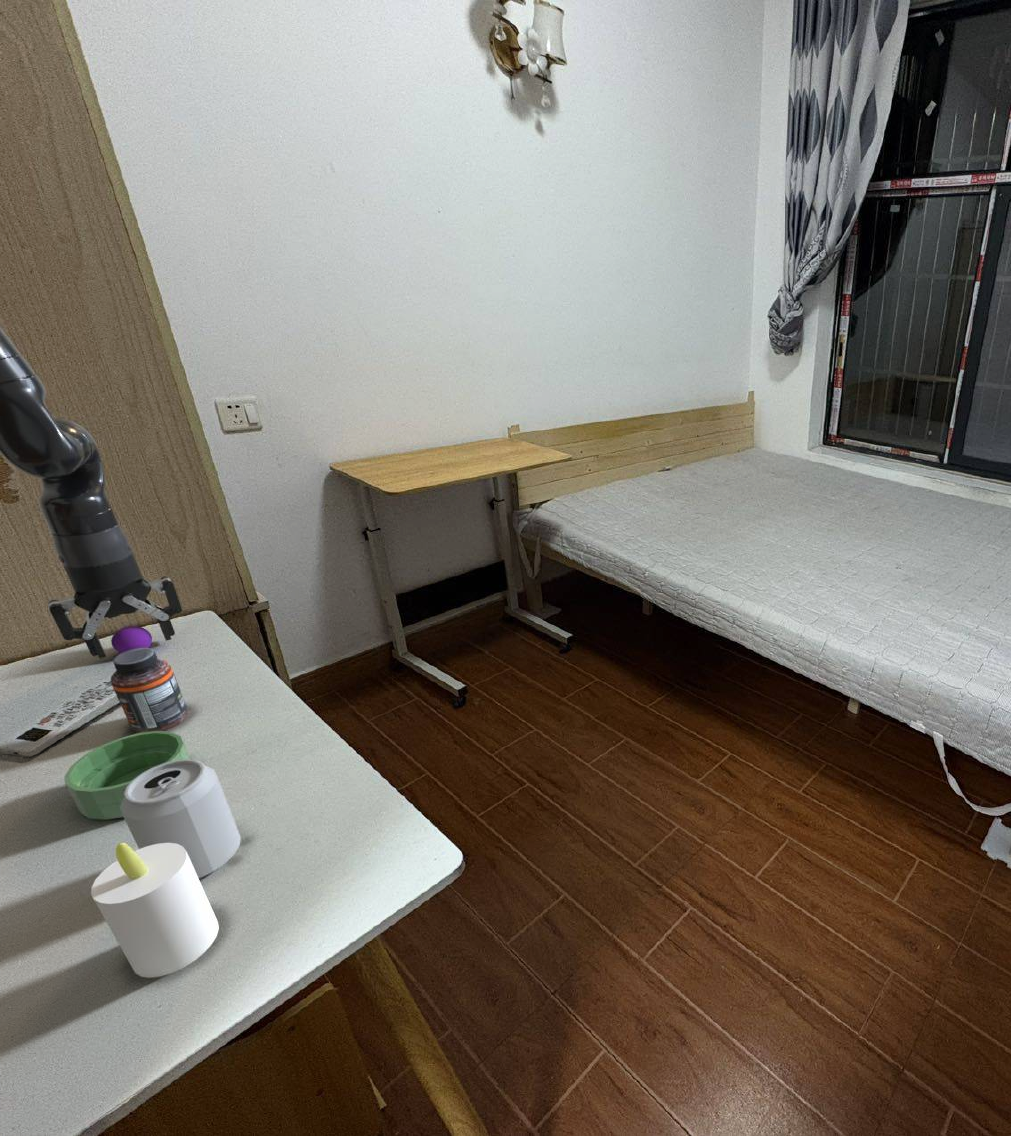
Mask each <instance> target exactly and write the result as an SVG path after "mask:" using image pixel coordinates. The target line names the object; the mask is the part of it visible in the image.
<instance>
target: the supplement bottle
mask: <svg viewBox="0 0 1011 1136" xmlns="http://www.w3.org/2000/svg"><path fill="white" fill-rule="evenodd" d="M112 660H113V661H112V662H113V665H114V668H115V670H116V671H114V672H113V673H112V674H111V677H110V684H111V686H112V688H113V691H114V693H115V696H116V698H117V700H118V701H119V704H120V706H121V709H122V710H123V714H124V715H125V717H126V719H127V722H128V724H129V726H130V727H131V729H132V731H133V732H134V733H135V734H137V733H142V732H151V731H169V730H171V729H173V728H175V727H177V726H178V725H181V724H182V723H183V722H184V721H185V720H186V718H187V717H188V715H189V710H188V706H187V703H186V701H185V698H184V696H183V692H182V691H181V687H180V685H179V684H178V680H177V678H176V676H175V673H174V671H173V668H172V666H171V664H170V663H169V662H168V661H166V660H164V659H160V658H158V655H156V651H155V650H154V649H153V648H150V647H148V648H137V649H133V650H129V651H126V652H124V653H119V654H118V655H117V656H115V657H114V658H113V659H112Z"/></svg>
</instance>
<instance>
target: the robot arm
mask: <svg viewBox="0 0 1011 1136" xmlns="http://www.w3.org/2000/svg"><path fill="white" fill-rule="evenodd" d="M46 396H47V389H46V387H45V385H44V384H43V382H42V381H41V379H40V378H39V376H38V375H37V374H36V372H35V371H34V369H33V368H32V367H31V366H30V364H29V363H28V362H27V360H26V359H25V357H24V356H23V355H22V353H21V352H20V350H18V348H17V347H16V345H15V344H14V343H13V342H12V340H11V339H10V337H8V335H7V334H6V332H5V331H4V329H2V327H1V326H0V454H1V455H2V456H3V457H4V459H5V460H6V461H7V462H9V464H11V465H12V466H13V467H14V468H15V469H17V470H18V471H20V472H22V473H24V474H26V475H28V476H31V477H34V478H37V479H41V483H42V491H41V493H40V495H39V498H38V503H39V504H38V505H39V508H40V511H41V513H42V516H43V518H44V521H45V523H46V525H47V527H48V529H49V531H50V534H51V537H52V541H53V545H54V549H55V551H56V553H57V555H58V560H59V562H60V563H61V564H62V566H63V569H64V571H65V573H66V576H67V578H68V580H69V581H70V584H71V587H72V589H73V591H74V596H73V597H72V598H68V599H62V600H58V599H52V600H49V601H48V609H49V612H50V614H51V616H52V618H53V620H54V622H55V624H56V626H57V628H58V630H59V632H60V633H61V636H62V637H63V639H64V640H65V641H72V640H79V639H80V640H83V641H84V642H85V644H86V647H87V649H88V651H89V654H90V655H91V656H93V657H96V656H98V658H99V659H103V658H106V657H107V655H106V653H105V649H104V648H103V645H102V643H101V640H100V639H99V636H98V634H97V630H98V629H99V627H100V626H101V624H102V622H103V621H104V618H107V619H112V618H117V617H119V616H121V615H130V614H135V613H136V612H137V611H141V612H143V613H144V614H147V615H149V616H152V617H153V618H155V619H156V620H157V621H158V622H157V623H158V625H159V628H160V630H161V632H162V635H163V637H164V639H165V641H166V642H167V641H171V640H172V637H173V636H175V634H176V632H175V629H174V626H173V624H172V621H171V618H172V617H173V616H174V615H179V614H181V613H182V611H183V608H182V605H181V602H180V600H179V597H178V594H177V591H176V587H175V585H174V583H173V580H172V579H171V577H169V576H167V575H164V576H162V577H160V579H158V580H153V581H147V580H146V579H145V578H144V577H143V574H142V572H141V570H140V567H139V564H138V562H137V560H136V557H135V555H134V552H133V549H132V547H133V546H132V545H131V544H130V542H129V539H128V537H127V535H126V533H125V531H124V530H123V528H122V526H121V524H120V523H119V520H118V517H117V515H116V512H115V510H114V507H113V505H112V502H111V500H110V498H109V497H108V494H107V489H106V479H105V478H106V477H105V473H104V466H103V461H102V457H101V454H100V450H99V447H98V445H97V443H96V441H95V439H94V437H93V436H92V435H91V433H89V431H87V429H85V428H84V427H83V426H81V425H80V424H78V423H77V422H74V421H71V420H69V419H65V418H60V417H54V416H53V415H52V414H51V412H50V411H49V408H48V407H47V405H46V401H45V400H46ZM152 590H156V591H157V592H158V593H159V594H164V595H165V597H166V600H167V603H168V605H167V606H165V607H162V606H160V605H159V604H157V603H155V602H154V601H152V600H151V599H149V598H148V596H149V594H150V593H151V591H152ZM76 606H77V607H78V608H80V609H82V610H85V611H87V613H86V616H85V620H84V622H83V623H82V626H81V627H73V625H72V623H71V621H70V618H69V615H71V614H72V612H73V608H74V607H76Z"/></svg>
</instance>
